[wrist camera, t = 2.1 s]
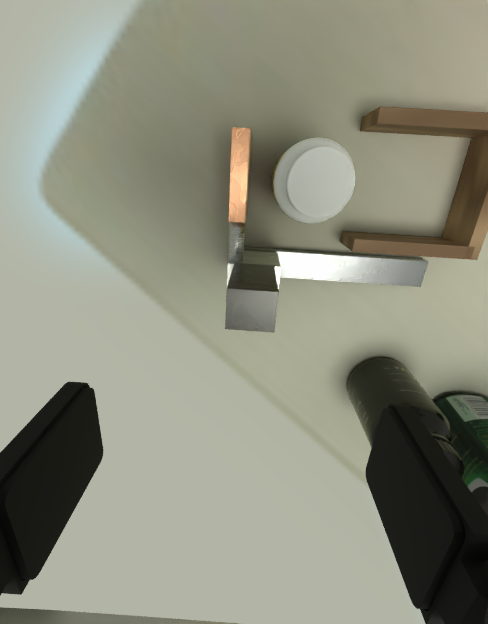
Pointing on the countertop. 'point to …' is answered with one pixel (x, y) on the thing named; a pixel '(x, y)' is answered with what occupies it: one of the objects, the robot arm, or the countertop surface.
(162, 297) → the countertop surface
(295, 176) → the supplement bottle
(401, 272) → the rail
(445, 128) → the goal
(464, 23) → the countertop surface
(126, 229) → the countertop surface
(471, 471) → the coffee jar
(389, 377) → the supplement bottle
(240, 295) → the carriage
